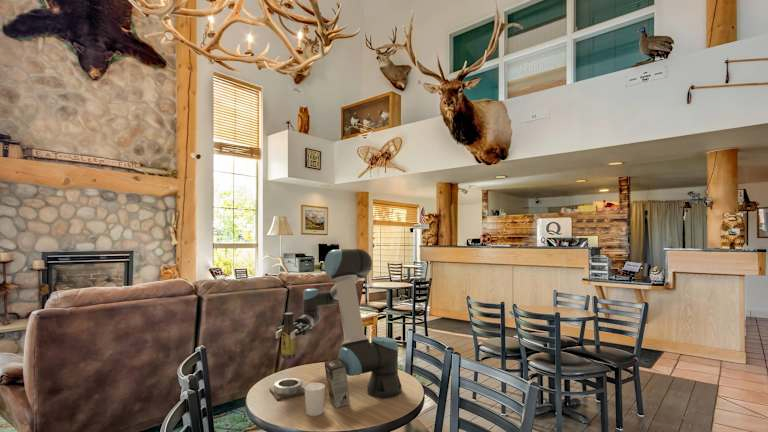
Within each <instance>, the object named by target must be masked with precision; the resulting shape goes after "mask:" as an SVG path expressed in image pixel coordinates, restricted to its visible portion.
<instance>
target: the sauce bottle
mask: <svg viewBox="0 0 768 432" xmlns="http://www.w3.org/2000/svg"><path fill="white" fill-rule="evenodd" d="M283 317H284V322H283V323H284V324H283V325H284V326H283V325H282V326H283V327H282V330H281V338H280V341H281V342H280V343H281V345H280V348H281V352H280V353H281V358H282V359H283V360H291V359H295V357H296V346H297V345H296V343H297V342H296V340H297V339H296V337H297V336H296V337H295V338H293V339H290V333H291V332H293V331H294V330H295V326H294V324H293V323H294V313H293V312H284V314H283Z"/></svg>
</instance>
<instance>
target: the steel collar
mask: <svg viewBox="0 0 768 432" xmlns="http://www.w3.org/2000/svg"><path fill="white" fill-rule="evenodd" d="M273 385H274V386H273V387H274V392H275V393H276V394H279V395H293V394H297V393H299V392H301V390H302V387H303V381H302V380H301V379H299V378H296V377H292V378H290V377H287V378H282V379H279V380H276V381H275V382H274V384H273ZM287 386H290V387H287Z"/></svg>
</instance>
